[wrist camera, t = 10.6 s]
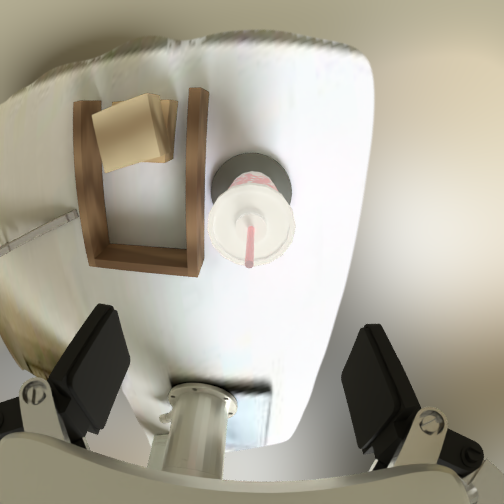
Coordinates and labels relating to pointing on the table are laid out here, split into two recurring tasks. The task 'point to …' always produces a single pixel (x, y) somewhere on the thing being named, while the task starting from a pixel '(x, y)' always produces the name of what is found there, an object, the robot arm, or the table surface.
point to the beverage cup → (251, 221)
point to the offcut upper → (131, 132)
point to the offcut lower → (170, 122)
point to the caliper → (38, 232)
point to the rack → (94, 205)
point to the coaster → (247, 164)
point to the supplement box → (157, 452)
